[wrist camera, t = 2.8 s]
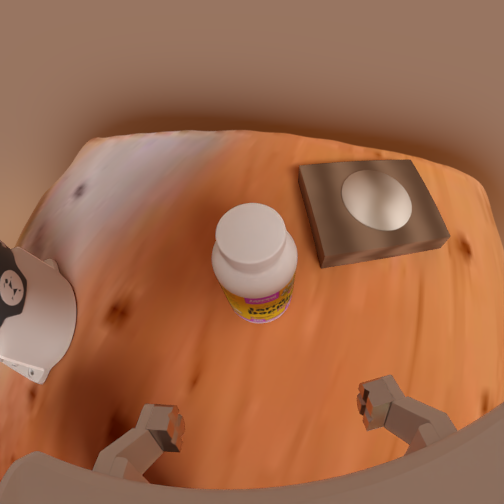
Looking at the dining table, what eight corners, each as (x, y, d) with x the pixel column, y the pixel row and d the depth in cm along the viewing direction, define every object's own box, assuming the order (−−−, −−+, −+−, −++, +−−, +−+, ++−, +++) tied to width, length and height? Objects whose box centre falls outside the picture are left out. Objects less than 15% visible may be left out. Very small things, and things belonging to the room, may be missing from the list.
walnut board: (320, 268, 30) (325, 255, 27) (298, 181, 36) (299, 164, 33) (440, 248, 30) (451, 235, 27) (404, 173, 36) (410, 158, 33)
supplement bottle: (247, 336, 27) (225, 297, 16) (219, 284, 30) (185, 218, 19) (303, 304, 28) (320, 245, 17) (272, 256, 31) (268, 178, 20)
